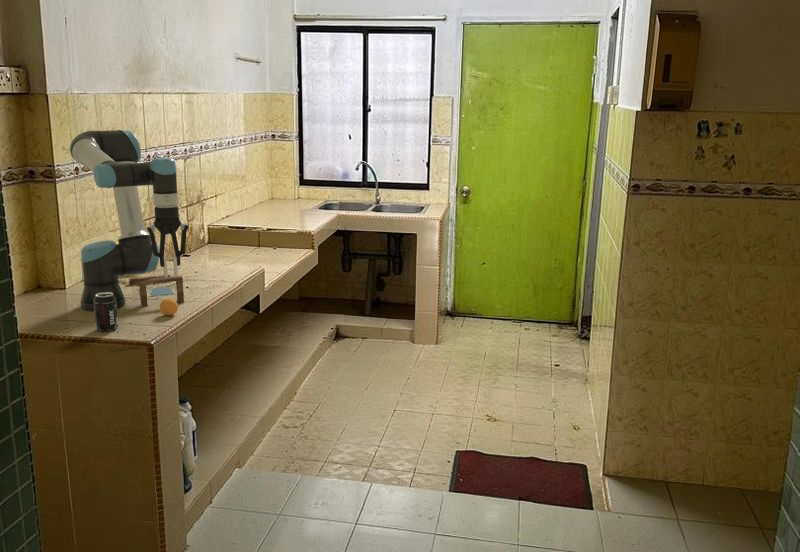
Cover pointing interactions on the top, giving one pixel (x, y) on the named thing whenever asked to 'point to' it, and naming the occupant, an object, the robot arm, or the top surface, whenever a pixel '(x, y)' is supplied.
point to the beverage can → (105, 311)
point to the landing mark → (160, 291)
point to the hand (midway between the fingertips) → (171, 275)
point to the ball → (169, 307)
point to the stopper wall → (136, 280)
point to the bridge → (159, 280)
